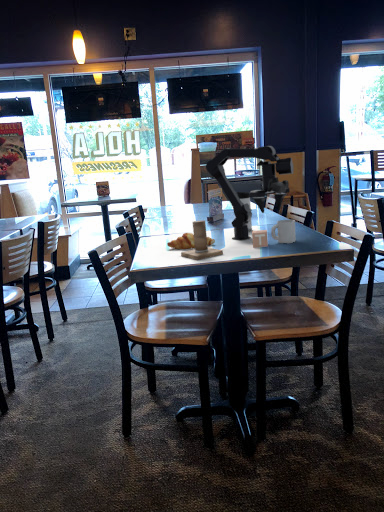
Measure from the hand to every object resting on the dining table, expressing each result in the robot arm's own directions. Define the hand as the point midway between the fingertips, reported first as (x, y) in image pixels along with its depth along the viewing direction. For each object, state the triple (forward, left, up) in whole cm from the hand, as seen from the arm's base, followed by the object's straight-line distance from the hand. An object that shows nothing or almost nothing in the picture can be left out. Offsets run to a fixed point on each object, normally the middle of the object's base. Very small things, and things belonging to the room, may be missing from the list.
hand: (270, 211), depth 182 cm
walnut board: (+1, -39, -12) cm, 41 cm away
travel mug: (-27, +7, -12) cm, 31 cm away
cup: (+11, -4, -12) cm, 17 cm away
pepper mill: (+1, -39, -11) cm, 40 cm away
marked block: (+7, -14, -12) cm, 20 cm away
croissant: (-17, -32, -12) cm, 39 cm away
